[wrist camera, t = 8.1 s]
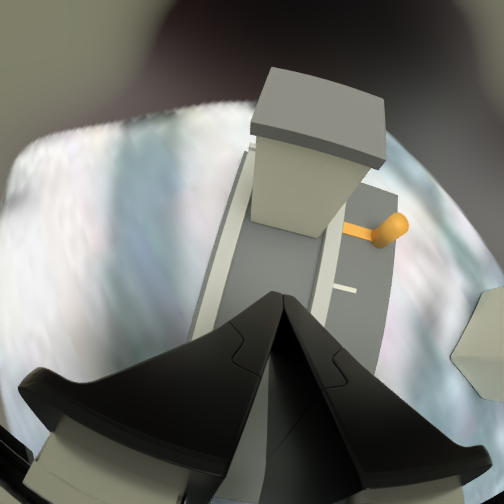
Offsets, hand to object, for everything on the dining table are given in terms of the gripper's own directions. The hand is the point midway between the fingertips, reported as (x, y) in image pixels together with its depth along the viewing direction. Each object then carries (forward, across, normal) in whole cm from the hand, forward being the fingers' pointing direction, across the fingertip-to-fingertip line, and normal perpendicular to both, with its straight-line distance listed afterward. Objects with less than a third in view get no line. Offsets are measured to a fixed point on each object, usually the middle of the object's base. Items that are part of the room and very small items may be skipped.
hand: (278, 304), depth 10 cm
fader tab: (+11, 0, -1) cm, 11 cm away
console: (+5, +2, -7) cm, 9 cm away
